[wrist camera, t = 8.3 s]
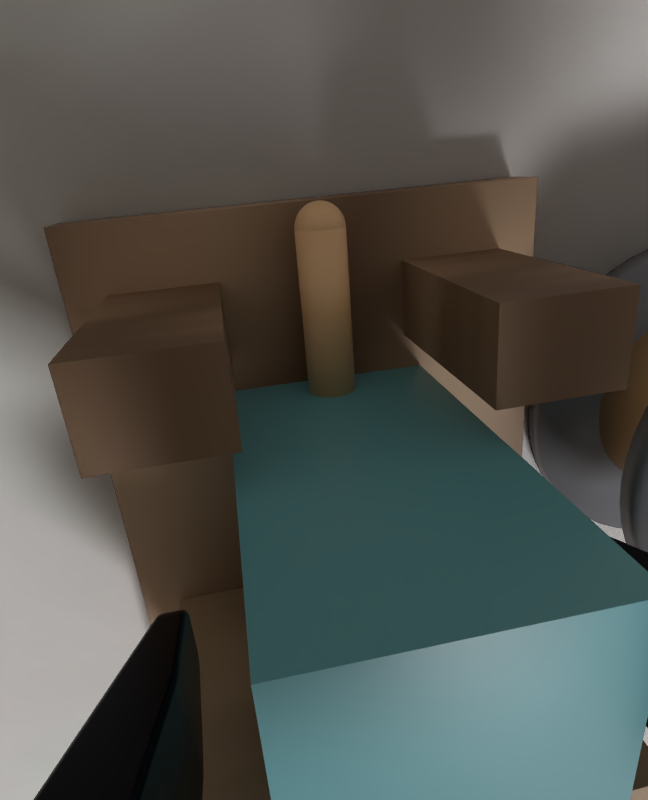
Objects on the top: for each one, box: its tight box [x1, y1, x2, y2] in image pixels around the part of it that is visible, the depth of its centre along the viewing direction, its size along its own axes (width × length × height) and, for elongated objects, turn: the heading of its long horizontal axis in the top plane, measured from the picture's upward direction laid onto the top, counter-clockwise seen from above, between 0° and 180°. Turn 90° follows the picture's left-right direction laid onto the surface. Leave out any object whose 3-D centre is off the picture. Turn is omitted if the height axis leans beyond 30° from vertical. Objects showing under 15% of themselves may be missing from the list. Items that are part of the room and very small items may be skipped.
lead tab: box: [233, 200, 648, 800], centre depth 8 cm, size 4×7×7 cm, turn 5°
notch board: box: [44, 177, 648, 800], centre depth 10 cm, size 9×11×7 cm
